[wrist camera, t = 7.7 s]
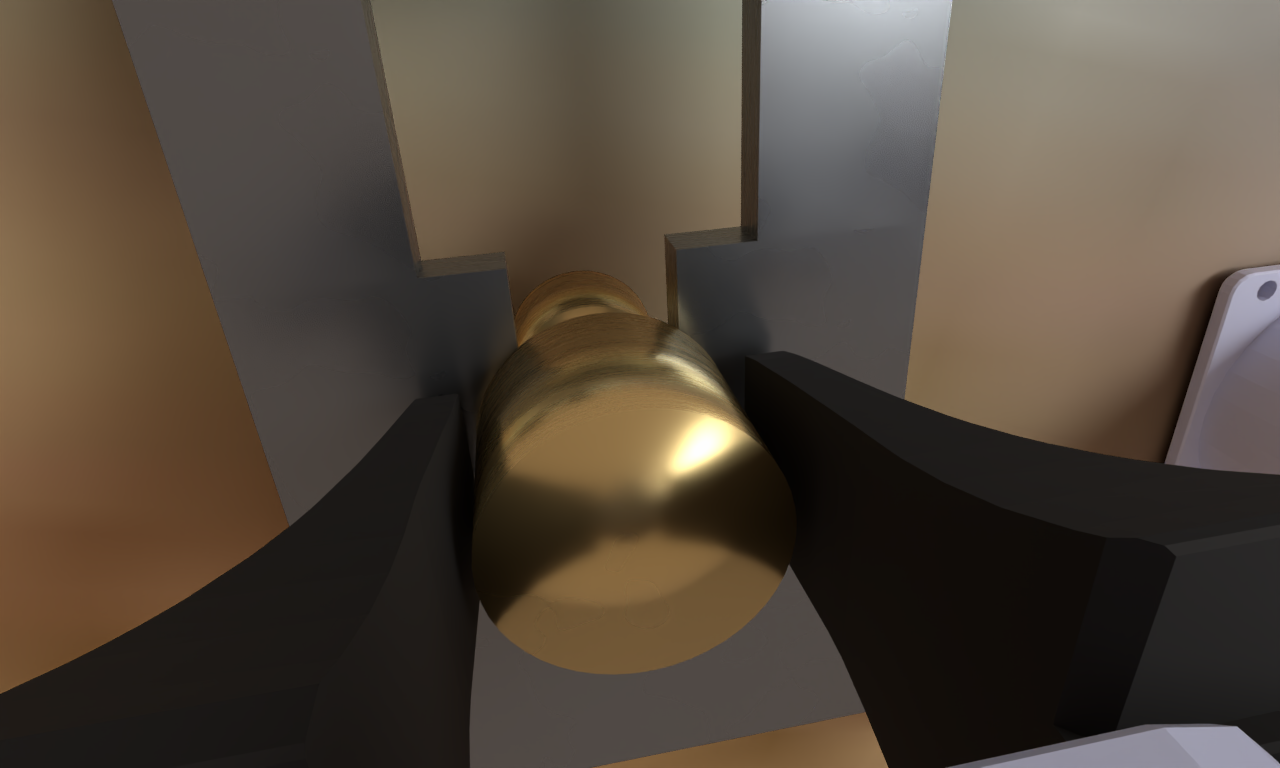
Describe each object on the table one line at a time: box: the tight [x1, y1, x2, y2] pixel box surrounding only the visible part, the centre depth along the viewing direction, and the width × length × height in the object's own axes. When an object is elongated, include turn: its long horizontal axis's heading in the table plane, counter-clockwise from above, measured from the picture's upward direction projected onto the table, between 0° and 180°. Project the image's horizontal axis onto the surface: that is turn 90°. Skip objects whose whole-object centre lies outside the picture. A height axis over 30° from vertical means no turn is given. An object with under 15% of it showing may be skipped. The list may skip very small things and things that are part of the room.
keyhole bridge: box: [112, 0, 952, 768], centre depth 13 cm, size 10×20×5 cm, turn 3°
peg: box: [472, 271, 797, 675], centre depth 12 cm, size 4×4×7 cm
